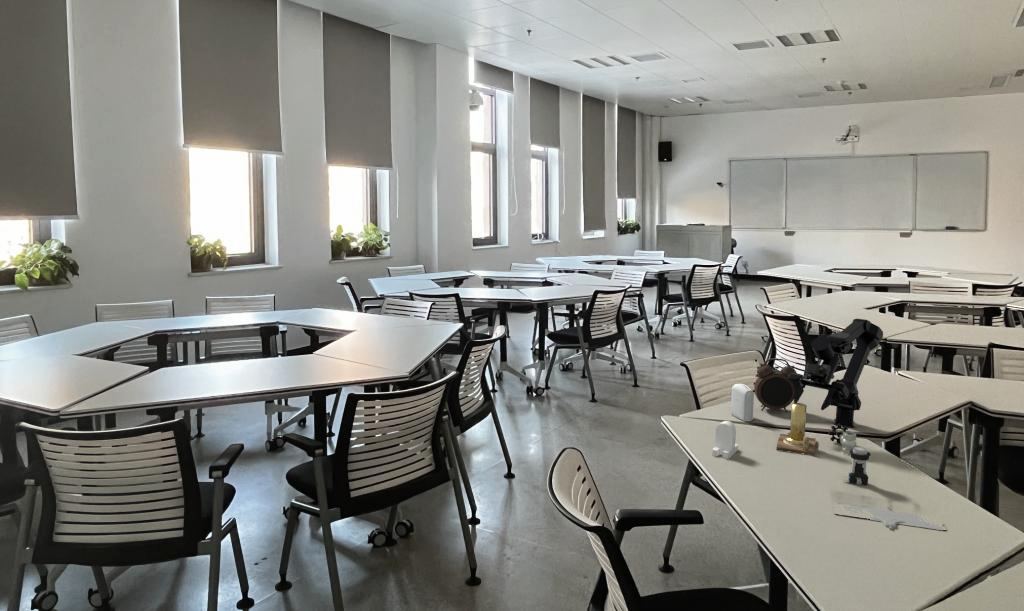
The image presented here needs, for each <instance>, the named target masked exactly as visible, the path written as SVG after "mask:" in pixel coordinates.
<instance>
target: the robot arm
mask: <svg viewBox="0 0 1024 611" xmlns="http://www.w3.org/2000/svg"><path fill="white" fill-rule="evenodd" d="M883 338H884V331H883V329H882V328H881V327H880V326H878V325H876V324H874V323H872V322H871V320H868V319H863V318H854V319H853V320H852V322H851V323H850V324H849V325H847V326H846V327H845V328H844V329H843V330H841V331H840V332H837V333H835V332H834V333H831V334H829V335H828V334H821V336H818V337H817V338H815V339H813V340H812V341H811V344H810V346H811V348H812V350H813V352H814V354H815V356H816V357H817V358H818V363H817V364H814V363H806V367H805V370H804V373H805V374H807V377H808V378H809V379H807V378H805V377H804V376H803V374H802V373H801V374H800V373H797V372H796V373H797V374H796V373H791V374H790V375H789V377H788V380H789V382H790V383H791V385H792V387H794V400H793V403H799V400H800V399H801V397H802V395H803V394H804V392H805V391H804V389H806V386H807V387H808V386H809V387H812V388H817V389H822V390H825V391H827V394H826V396H825V398H824V400H823V403H822V404H821V407H820V410H821V411H824V410H826V409H827V408H828V407H829V406H832V407H836V409H835V410H836V411H835V418H834V419H833V420H834V421H833V424H834V425H835V426H837V425H838V424H841V425H843V426H842V427H844V426H846V427H849V426H853V427H852V428H855V420H854V415H855V412H856V411H860V409H861V406H862V401H861V399H860V397H859V390H858V382H859V379H860V376H861V375H862V373H863V369H864V368H865V365H866V363H867V360H868V358H869V355H870V353H871V351H873V349H875V348H877V347H878V346H879V344H880V342H881V340H883ZM854 341H855V343H856V345H855V349H854V350H853V354H852V355H851V358H850V360H849V362H848V365H847V368H846V369H845V372H844V375H843V377H842V378H841V379H836V380H834V378H835V375H834V374H835V371H836V369H837V368H838V366H841V364H842V363H841V358H840V357H839V355H843V356H845V355H847V353H848V352H850V350H851V347H852V345H851V344H852V343H853V342H854ZM832 380H833V381H832ZM830 383H831V384H830ZM834 425H833V426H834Z"/></svg>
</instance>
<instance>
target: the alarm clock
mask: <svg viewBox="0 0 1024 611" xmlns="http://www.w3.org/2000/svg"><path fill="white" fill-rule="evenodd" d="M770 361H771V362H772V361H781V362H785V363H786V364H787V365H786V366H783V367H782V368H781V369H780V366H775V365H774V369H773V367H772V366H771V365H769V364H767V363H768V362H770ZM779 369H780V370H779ZM791 373H796V374H798V373H797V371H796V369H795V365H792V366H791V365H790V364H789V362H788V361H787V360H786V359H784V358H779V357H778V358H775V357H773V358H768V359H766V360H765V361H764V363H761V362H760V364H759V366H758V367H757V369H756V374H757V378H756V380H755V382H754V385H753V386H754V387H753V388H754V391H753V392H754V396H755V397H756V399H757V400H758V402H760V404H761V405H760V407H761V409H760V410H761V411H764V410H765V409H766V408H767V409H770V410H776V411H777V410H782V409H783V410H784V411H785V413H788V410H787V408H786V407H789V406H790V405H792V403H793V402H794V387H792V385H791V383H790V382H789V380H788V377H789V375H790V374H791Z"/></svg>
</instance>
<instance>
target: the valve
mask: <svg viewBox="0 0 1024 611" xmlns="http://www.w3.org/2000/svg"><path fill="white" fill-rule="evenodd" d="M830 428H831V429H832V431H828V432H827V434H828V435H829V436H831V437H830V438H829V440H830V441H831V442H836V444H838V443H840V444H841V446H842V447H841V453H842V452H843V453H844V454H843V453H842V454H843V455H845V454H848V455H847V456H851V454H850V450H852V449H853V448H854V447H857V441H856V440H857V434H856V433H854V432H852V431H848V430H849V427H848V426H842V425H841V424H838V425H836V427H835V426H834V425H832V426H831V427H830ZM837 430H838V431H837ZM840 430H841V431H840ZM835 434H836V436H835ZM835 440H836V441H835Z"/></svg>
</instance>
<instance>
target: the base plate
mask: <svg viewBox="0 0 1024 611" xmlns="http://www.w3.org/2000/svg"><path fill="white" fill-rule="evenodd" d="M786 436H788V434H785V433H780V434H779V436H778V441H777V445H776V449H775V450H776V451H779V450H782V451H781V452H787V451H790V452H789V453H794V452H796V453H795V454H801V453H804V454H803V455H808V454H809V455H810V456H815V449H816V438H815V437H809V436H805V437H804V439H803V446H796V445H791V444H789V443H787V442H786V441H785V437H786Z"/></svg>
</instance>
